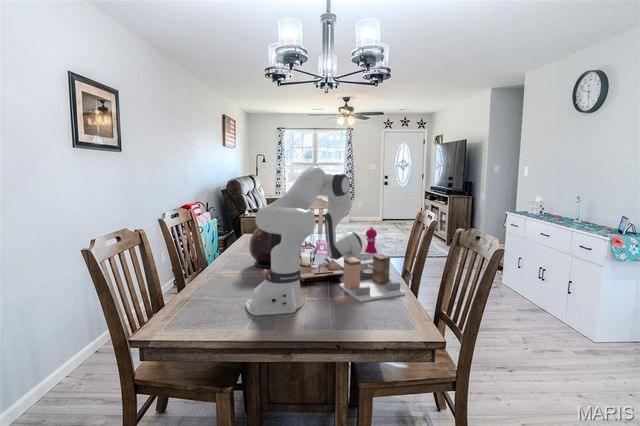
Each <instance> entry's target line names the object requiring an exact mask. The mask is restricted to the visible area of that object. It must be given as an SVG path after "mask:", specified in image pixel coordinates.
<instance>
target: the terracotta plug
mask: <svg viewBox="0 0 640 426" xmlns="http://www.w3.org/2000/svg"><path fill="white" fill-rule="evenodd" d="M360 264H361V262H360V260H358V259H356V258H354V257H353V258H343V283H344V285H345V286H346V287H348V288H349V289H352V288H359V287H360V281H361V271H360Z"/></svg>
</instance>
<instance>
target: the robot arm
mask: <svg viewBox="0 0 640 426" xmlns="http://www.w3.org/2000/svg"><path fill="white" fill-rule="evenodd" d="M349 189H350V179H349V177H348V176H347V174H345V173H342V172H333V171H325V170H323V169H322V168H321V167H320V166H316V165H315V166H314V165H312V166H309V167H308V168H307V169H305V170H304V171H302V173H300V175H299V176H298V178H296V180H295V182H294V183H293V184H292V186H291V187H290V188H289V190H287V192H285V193H284V194H283V195H282V196H281V197H279V198H278V199H276V200H275V201H273V202H271V203H269V204H267V205H263V206H261V207H260V208H259V209H258V210H257V211H256V214H255V217H254V218H255V219H254V220H255V224H256V227H257V228H259V229H261V230H263V231H265V232H268V233H273V234H279V235H281V242H280V244H278V245H276V246H275V247H274V248H273V249H272V251H271V269H263V271H262V273H263V275H264V276H265V279H264V280H263V281H262V282H261V283H260V284H258V285H257V286H256V287H254V289H253V291H252V294H251V299H248V300H246V303H245V308H246V310H247V312H248V313H249V314H250V315H252V316H257V317H258V316H269V315H280V314H281V315H282V314H283V315H285V314H293V313H296V311H297V310H298V309H300V308H302V306H303V305H304V300H303V296H302V291H301V280H302V279H301V278H302V273H301V268H300V253H301V249H302V246H303V243H304V242H305V240H306V239H307V238H308V237H310V236H311V235H312V234H313V233H314V230H315V229H316V224H317V223H316V217H315V214H314V213H313V212H312V211H311V210H309V209H310V208H311V207H312V206H313V204H314V203H315V201H316V200H317V198H318V196H321V197H327V203H328V206H327V207H328V208H327V212H326V213H325V216H324V227H325V228H324V229H325V243H326V242H327V252H328V254H327V256H328V257H329V258H330V259H332V260H336V261H337V260H339V259H341V258H343V259H344V258H353V257H354V258H356V259H358V260H360V262H361V264H360V272H361V271H368V270H369V271H373V255H379V254H378V253H377V254H376V253H366V252H365V251H362V250H363V242H362V241H363V240H362V238H361V237H360V236H359V234H357V233H356V232H354V231H349V232H346V233H344V234H342V235H341V236H338V237H337V236H336V235H337V234H336V231H337V230H336V229H337V226H338V224H339V223H340V222H341V221H342V220H344V218H346V216H347V215H348V214H349V213H350V212H351V210H352V205H353V204H352V197H351V194H350V190H349ZM327 252H326V253H327Z"/></svg>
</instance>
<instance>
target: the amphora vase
mask: <svg viewBox="0 0 640 426" xmlns="http://www.w3.org/2000/svg"><path fill="white" fill-rule="evenodd" d="M280 242H281V235H279V234H273V233H268V232H265V231H263V230H261V229H259V228H258V227H257V228H256V229H255V230H254V231H253V233H252V234H251V236H250V240H249V244H248V247H249V253H250V255H251V257H252V258H253V259H254V260H255V261H254V266H255V267H256V268H258V269H261V270H262V269H263V270H265V269H266V270H270V269H271V251H272V249H273V248H274V247H275V246H276V245H278V244H280Z"/></svg>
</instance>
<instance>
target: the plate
mask: <svg viewBox="0 0 640 426" xmlns="http://www.w3.org/2000/svg"><path fill="white" fill-rule="evenodd" d="M339 287H340V289H342V290H343V291H345V292H346V293H347V294H349V295H350V296H352V297H353V298H354V299H355V300H357V301H358V302H359V303H360V302H366V301H367V302H368V301H373V300H379V299H385V298H391V297H398V296H403V295H406V291H405V290H403V289H401V282H400V281H396V282H395V281H394V282H389V283H386V284H378V283H376V282H375V281H373V278H371V279H366V280H365V279H364V280H360V287H359V288H352V289H349V288H348V287H346V286H345V285H344V282H342V283H339Z"/></svg>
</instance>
